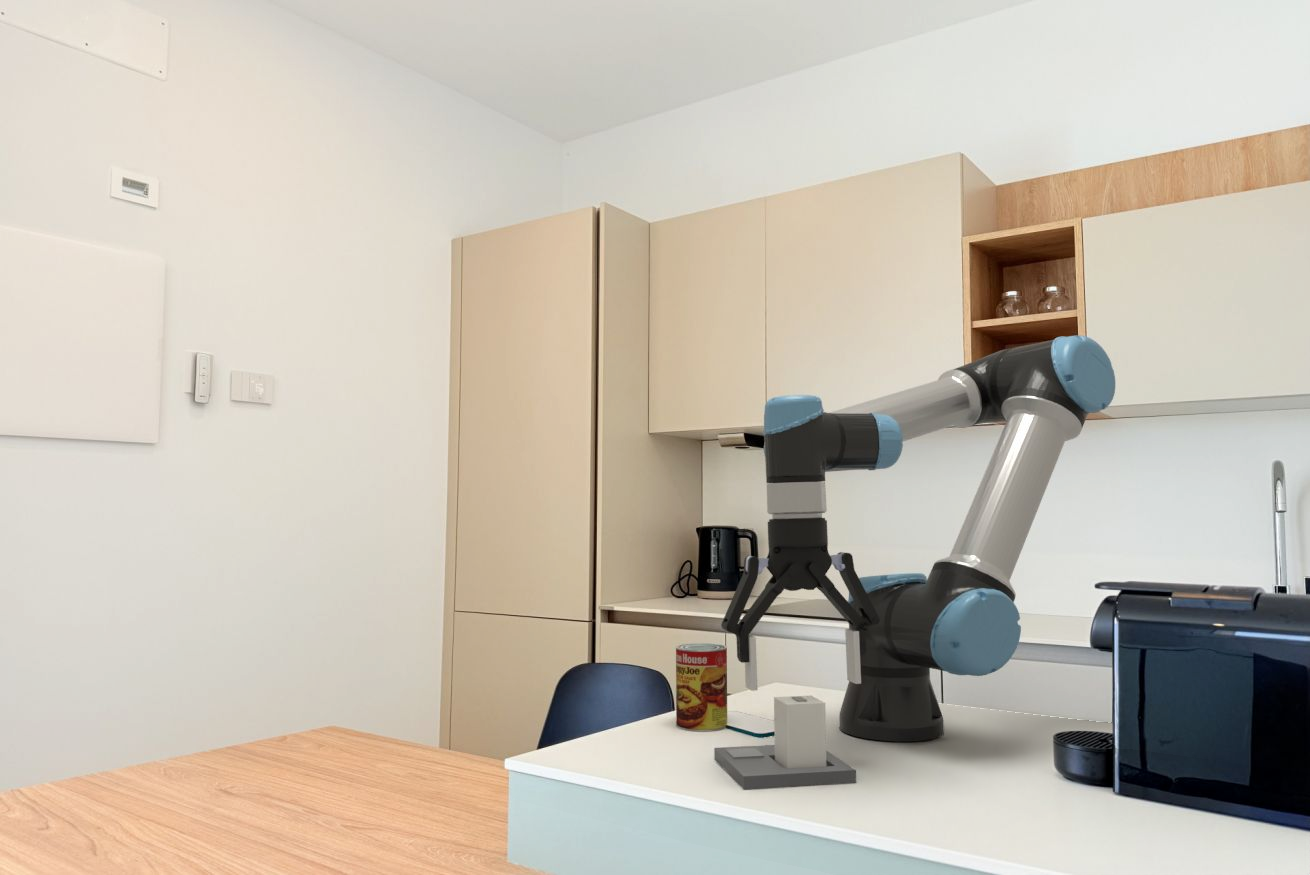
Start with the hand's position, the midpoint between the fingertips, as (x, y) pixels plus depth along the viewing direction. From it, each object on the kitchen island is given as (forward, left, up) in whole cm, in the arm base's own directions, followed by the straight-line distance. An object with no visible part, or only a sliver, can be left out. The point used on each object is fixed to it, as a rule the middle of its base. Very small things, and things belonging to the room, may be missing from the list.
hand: (803, 685), depth 118 cm
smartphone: (0, -28, -11) cm, 30 cm away
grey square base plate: (+3, -1, -11) cm, 11 cm away
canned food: (+6, -28, -11) cm, 31 cm away
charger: (+1, 0, -11) cm, 11 cm away
